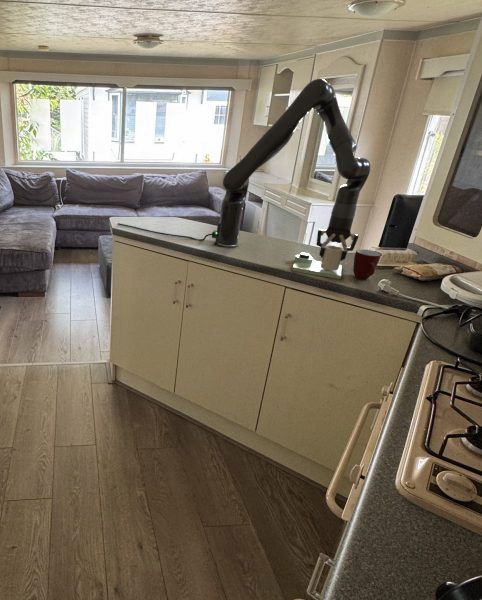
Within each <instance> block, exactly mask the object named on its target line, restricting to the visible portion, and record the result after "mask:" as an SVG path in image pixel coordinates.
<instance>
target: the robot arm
mask: <svg viewBox="0 0 482 600" xmlns="http://www.w3.org/2000/svg"><path fill="white" fill-rule="evenodd" d="M340 109H341V108H340V106H339V103H338V99H337V95H336V91H335V88H334V87H333V86H332V85H331V84H330V83H329V82H327V81H326V80H325V79H322V78H315V79H313V80H311V81H309V82H308V83H307V84H306V85H305V86H304V87H303V88H302V90H301V91H300V93H298V94H297V96H296V97H295V99H294V100H293V101H292V102H291V104H290V105H289V107H288V108H287V109H285V111H284V112H283V113H282V114H281V115H280V116H279V117H278V118H277V120H276V121H275V122H274V123H273V124H272V125H271V126H270V127H269V128H268V129H267V130H266V131H265V132H264V133H263V134H262V135H261V137H260V138H259V139H258V140H257V141H256V142H255V143H254V145H252V147H251V148H250V150H248V152H247V153H246V154H245V155H244V156H243V158H242V159H241V160H240V161H239V162H237V163H236V164H235V165H234V166H233V167H232V168H230V169H229V170H227V172H226V173H225V174H224V175H223V178H222V186H223V188H224V190H225V194H224V197H223V199H222V201H221V208H220V215H219V220H218V221H219V222H218V223H217V227H216V230H213V231H212V232H211V233H207V234H206V235H204V237H203V238H201V239H199V238H195V237H192V236H187V235H180V234H172V233H166V232H159V231H154V230H151V229H145V228H141V227H137V226H133V225H129V224H125V223H120V222H118V223H117V225H119V226H123V227H127V228H133V229H136V230H140V231H143V232H144V231H145V232H149V233H153V234H157V235H162V236H163V235H165V236H168V237H169V236H170V237H177V238H185V239H191V240H196V241H201V242H203V241H205V240H206V238H207V237H209V236H211V238H212V239H215V241H214V245H218V246H220V247H223V248H224V247H225V248H235V247H238V242H239V238H240V229H241V222H242V217H243V211H244V210H243V209H244V204H245V202H246V200H247V195H248V191H249V185H250V178H251V176H253V174H254V173H255V172H256V171H257V170H259V168H261V167H262V166H263V165H266V163H268V162H269V161H270V160H271V159H272V158H274V157H275V156H276V155H277V154H278V153H280V151H282V150H283V148H284V147H285V146H287V144H288V143H289V142H290V140H291V139H292V137H293V135H294V133H295V131H296V128H297V127H298V125H299V123H300V122H301V121H302V119H303V118H305V116H306V115H307V114H308V113H310V112H311V111H312V110H314V111H315V112H316V113H317V114H318V116H319V117H320V119H321V121H322V122H323V125H324V128H325V132H326V137H327V141H328V143H329V146H330V147H331V149H332V151H333V153H334V156H335V163H336V169H337V172H338V174H339V175H340V176H341V178H343V179H345V180H346V182H345V183H344V184H343V185H341V186H339V188H338V190H337V192H336V196H335V201H334V204H333V206H332V211H331V214H330V217H329V222H328V226H327V228H326V229H322V228H318V230H317V236H316V246H317V247H319V248H320V251H319V257H320V258H321V259H322V258H323V254H324V250H325V246H328V245H329V244H330V243H337V244H341V246H342V248H343V253H342V257H341V260H340V262H343V261H344V260H345V259H346V257H347V253H348V252H352V251H354V249H355V247H356V244H357V242H358V239H359V234H358V233H352V232H351V229H352V226H353V223H354V219H355V216H356V211H357V206H358V201H359V196H360V192H361V190H362V189H363V187H364V186H365V184H366V182H367V180H368V178H369V176H370V174H371V162H370V161H369V160H368V159H367V158H365V157H355V155H354V153H355V152H356V150H357V143H356V141H355V139H354V137H353V135H352V133H351V131H350V129H349V127H348V124H346V121H345V119H344V117H343V115H342V112H341V110H340ZM324 234H326V236H327V238H326V239H325V240H324V241H323V242H321V241H322V236H324ZM349 238H351V243H350V245H349V246H348V245H347V242H346V240H347V239H349Z"/></svg>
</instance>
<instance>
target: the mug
mask: <svg viewBox="0 0 482 600" xmlns="http://www.w3.org/2000/svg"><path fill="white" fill-rule="evenodd" d="M381 256H382V254H381V253H380V252H378V251H374V250H370V249H363V248H359V249H356V250H355V253H354V256H353V266H352V267H353V268H352V270H353V271H352V272H353V275H354V277H355V279H357V280H362V281H366V280H368V279H369V278H370V277H372V276H374V274H375V271H376V268H377V266H378V264H379V262H380V260H381Z"/></svg>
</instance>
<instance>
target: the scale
mask: <svg viewBox="0 0 482 600" xmlns="http://www.w3.org/2000/svg"><path fill="white" fill-rule="evenodd" d="M321 262H322V261H319V260H314V257H312V256H311V255H310V257H309V259H304V258H300V254H296V255H295V257H294V263H293V265H292V268H291V271H293V272H297V273H304V274H308V275H313V276H319V277H326V278H330V279H337V280H341V279H342V271H343V265H342V264H339V268H338V270H326V269H323V268H321Z"/></svg>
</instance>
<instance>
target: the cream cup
mask: <svg viewBox="0 0 482 600" xmlns="http://www.w3.org/2000/svg"><path fill="white" fill-rule="evenodd" d="M343 250H344V249H343V247H341V246H339V245H333V244H332V245H329V244H327V245H326V246H325V250H324V254H323V258H321V261H320V262H321V268H323V269H326V270H338V268H339V265H341V264H340V263H341V261H340V260H341V257H342V253H343Z"/></svg>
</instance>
